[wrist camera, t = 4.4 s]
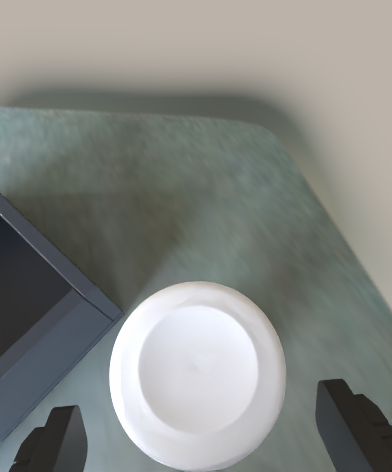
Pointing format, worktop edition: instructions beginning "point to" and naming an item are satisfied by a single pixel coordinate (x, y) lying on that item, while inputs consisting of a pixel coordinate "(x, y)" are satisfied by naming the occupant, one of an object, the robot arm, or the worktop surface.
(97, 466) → the worktop surface
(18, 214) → the open box
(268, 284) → the worktop surface
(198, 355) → the sprinkles bottle
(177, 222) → the worktop surface
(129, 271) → the worktop surface
